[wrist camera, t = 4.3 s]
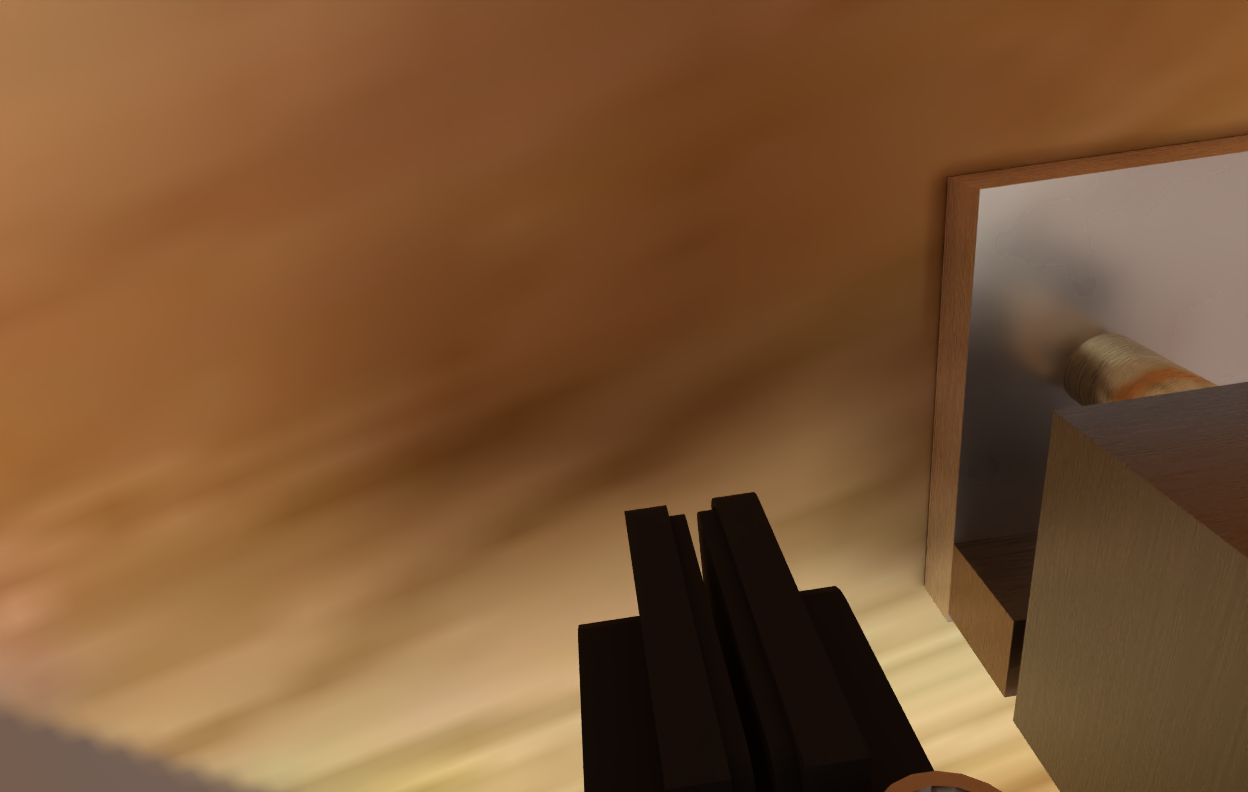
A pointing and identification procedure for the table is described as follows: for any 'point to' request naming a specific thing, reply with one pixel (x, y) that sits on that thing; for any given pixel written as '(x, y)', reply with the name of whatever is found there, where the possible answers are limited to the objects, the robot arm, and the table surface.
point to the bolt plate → (1063, 342)
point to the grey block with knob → (1140, 581)
